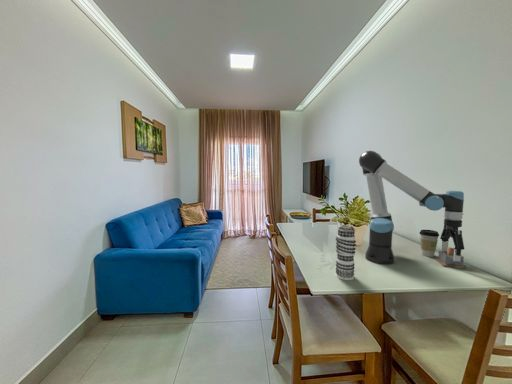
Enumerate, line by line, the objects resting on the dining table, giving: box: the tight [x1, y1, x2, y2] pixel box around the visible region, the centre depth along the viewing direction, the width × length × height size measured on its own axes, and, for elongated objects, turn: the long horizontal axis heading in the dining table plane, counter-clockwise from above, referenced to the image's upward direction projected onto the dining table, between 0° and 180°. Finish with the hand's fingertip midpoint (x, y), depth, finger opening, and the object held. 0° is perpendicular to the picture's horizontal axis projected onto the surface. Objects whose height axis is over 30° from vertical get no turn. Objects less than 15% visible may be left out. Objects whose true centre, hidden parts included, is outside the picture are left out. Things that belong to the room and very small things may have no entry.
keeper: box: [434, 246, 467, 269], centre depth 128 cm, size 10×10×9 cm
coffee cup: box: [418, 229, 440, 258], centre depth 142 cm, size 10×10×15 cm
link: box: [437, 250, 465, 266], centre depth 128 cm, size 8×8×5 cm
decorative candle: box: [335, 224, 357, 281], centre depth 112 cm, size 9×9×25 cm
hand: (450, 256), depth 128 cm, fingers open, 13 cm apart
